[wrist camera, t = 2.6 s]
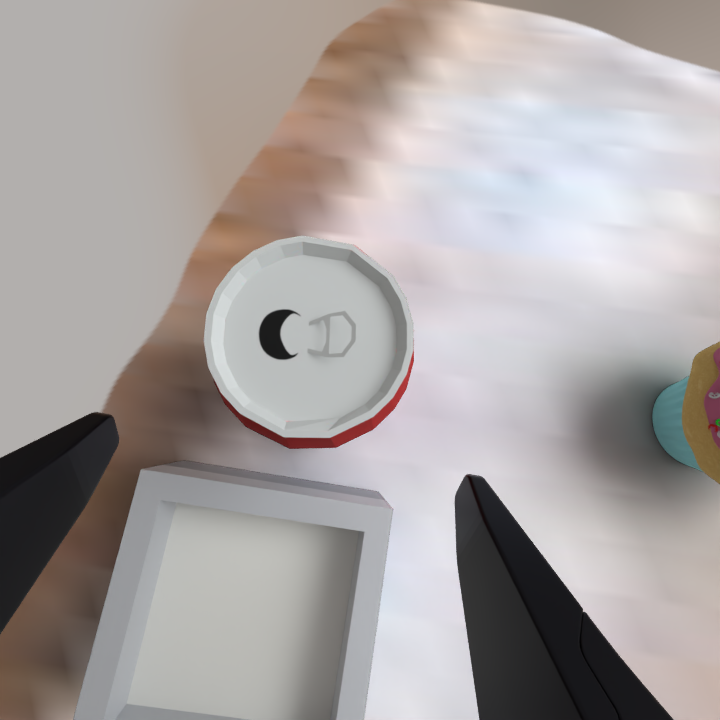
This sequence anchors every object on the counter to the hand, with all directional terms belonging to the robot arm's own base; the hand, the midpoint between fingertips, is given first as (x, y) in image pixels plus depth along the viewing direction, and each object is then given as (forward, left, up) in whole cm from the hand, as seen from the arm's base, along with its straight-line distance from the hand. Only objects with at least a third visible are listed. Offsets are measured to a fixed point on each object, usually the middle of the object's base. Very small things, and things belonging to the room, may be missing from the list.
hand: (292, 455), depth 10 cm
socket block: (-4, -6, -10) cm, 12 cm away
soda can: (+1, +3, -10) cm, 11 cm away
